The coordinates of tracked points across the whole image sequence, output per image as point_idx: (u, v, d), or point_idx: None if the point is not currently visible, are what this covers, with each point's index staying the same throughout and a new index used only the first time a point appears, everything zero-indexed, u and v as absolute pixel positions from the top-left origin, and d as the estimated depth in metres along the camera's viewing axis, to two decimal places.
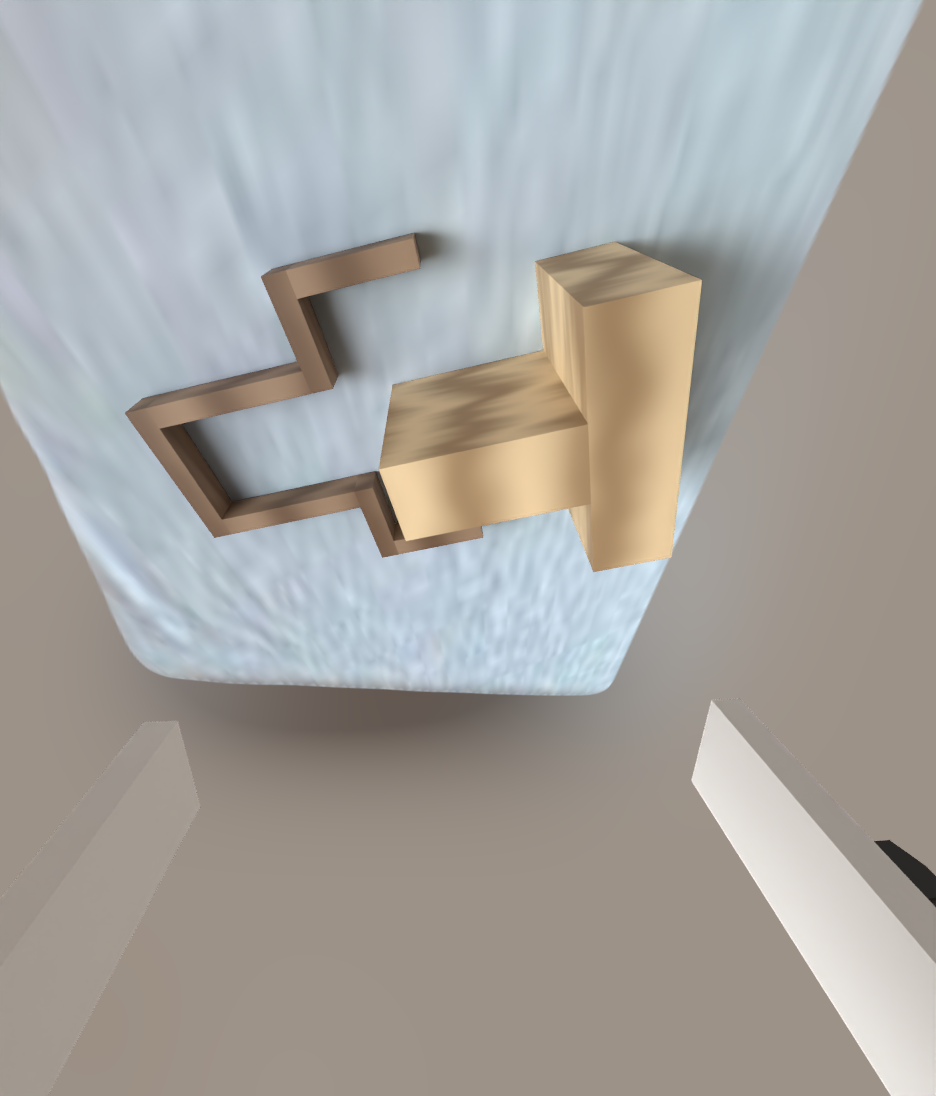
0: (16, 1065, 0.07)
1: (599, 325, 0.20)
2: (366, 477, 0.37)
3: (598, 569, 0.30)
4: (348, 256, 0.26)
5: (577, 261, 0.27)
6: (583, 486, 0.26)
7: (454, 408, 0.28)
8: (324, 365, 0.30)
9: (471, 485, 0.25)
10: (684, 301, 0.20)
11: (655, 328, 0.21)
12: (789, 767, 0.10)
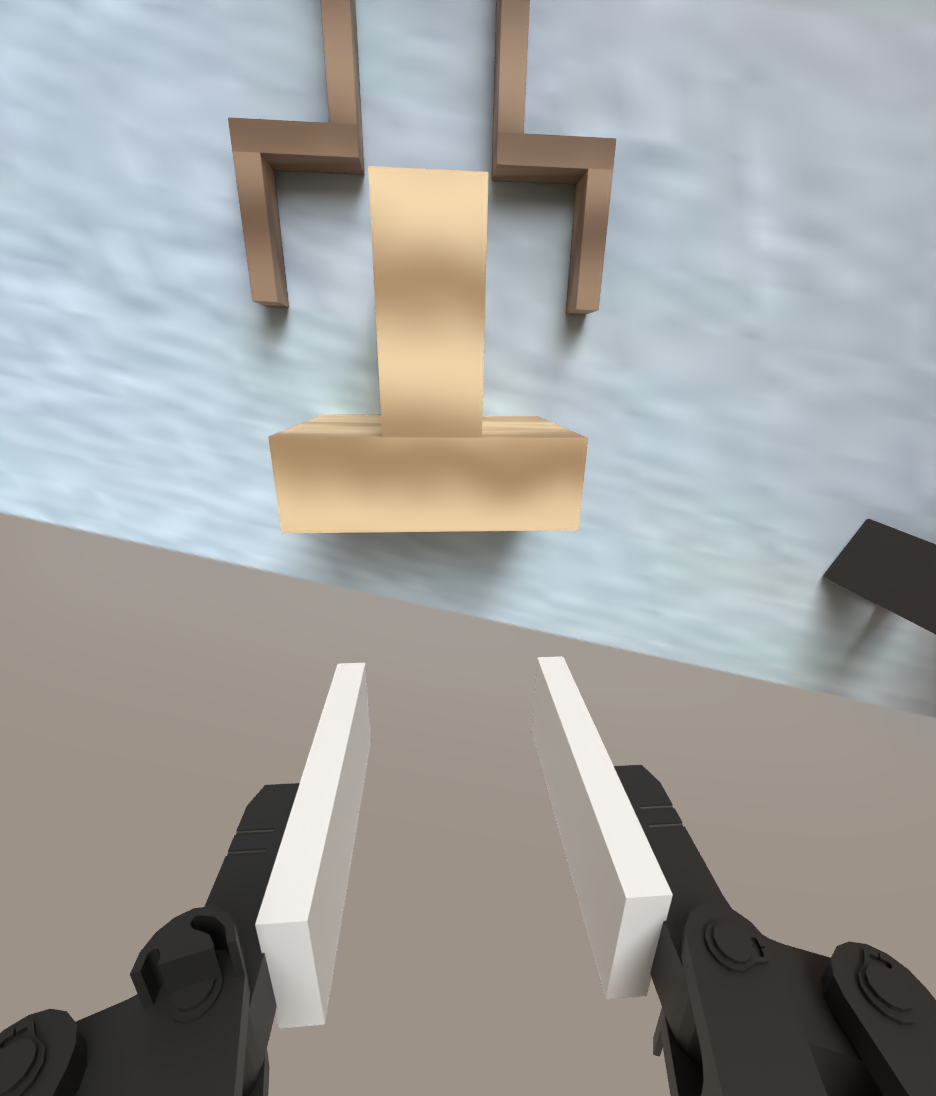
0: (335, 892, 0.09)
1: (569, 451, 0.24)
2: (362, 157, 0.28)
3: (272, 443, 0.23)
4: (603, 242, 0.29)
5: None
6: (408, 429, 0.23)
7: None
8: (522, 166, 0.27)
9: (437, 292, 0.21)
10: (566, 518, 0.25)
11: (553, 497, 0.25)
12: (573, 707, 0.11)
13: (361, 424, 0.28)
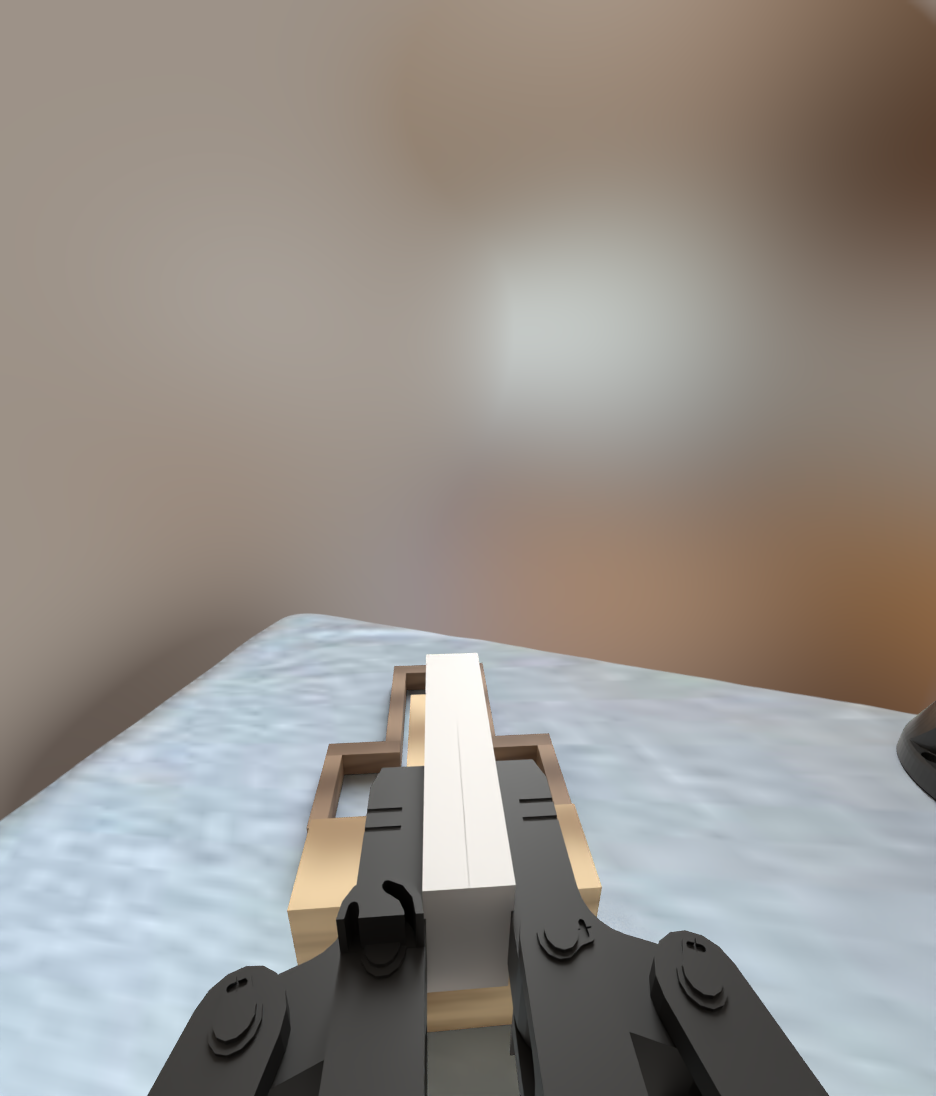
0: None
1: (563, 814, 0.28)
2: None
3: (312, 824, 0.27)
4: (561, 775, 0.43)
5: None
6: None
7: None
8: (497, 748, 0.46)
9: None
10: (584, 875, 0.25)
11: None
12: (473, 703, 0.11)
13: None
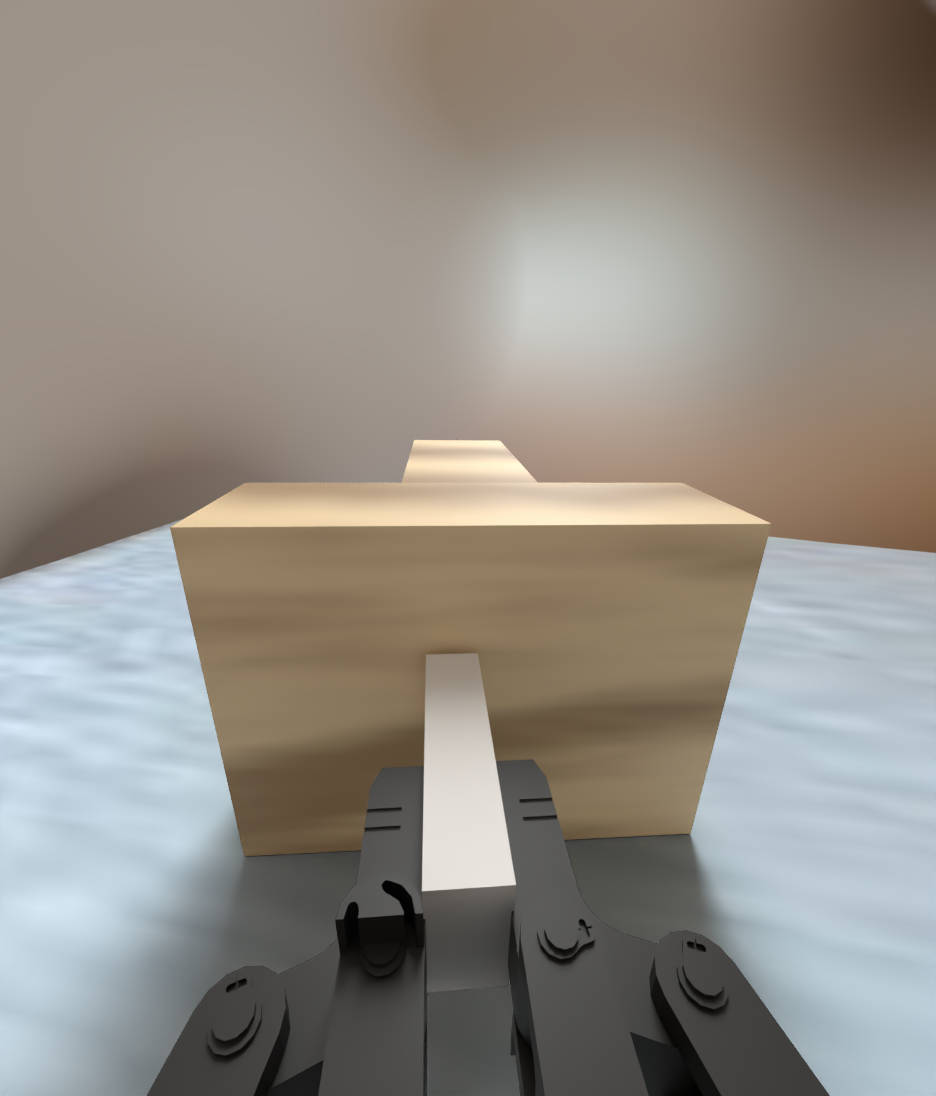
0: None
1: (667, 487, 0.17)
2: None
3: (246, 484, 0.16)
4: None
5: None
6: (437, 480, 0.17)
7: None
8: None
9: (468, 453, 0.23)
10: (732, 517, 0.13)
11: (683, 505, 0.14)
12: (473, 703, 0.11)
13: None
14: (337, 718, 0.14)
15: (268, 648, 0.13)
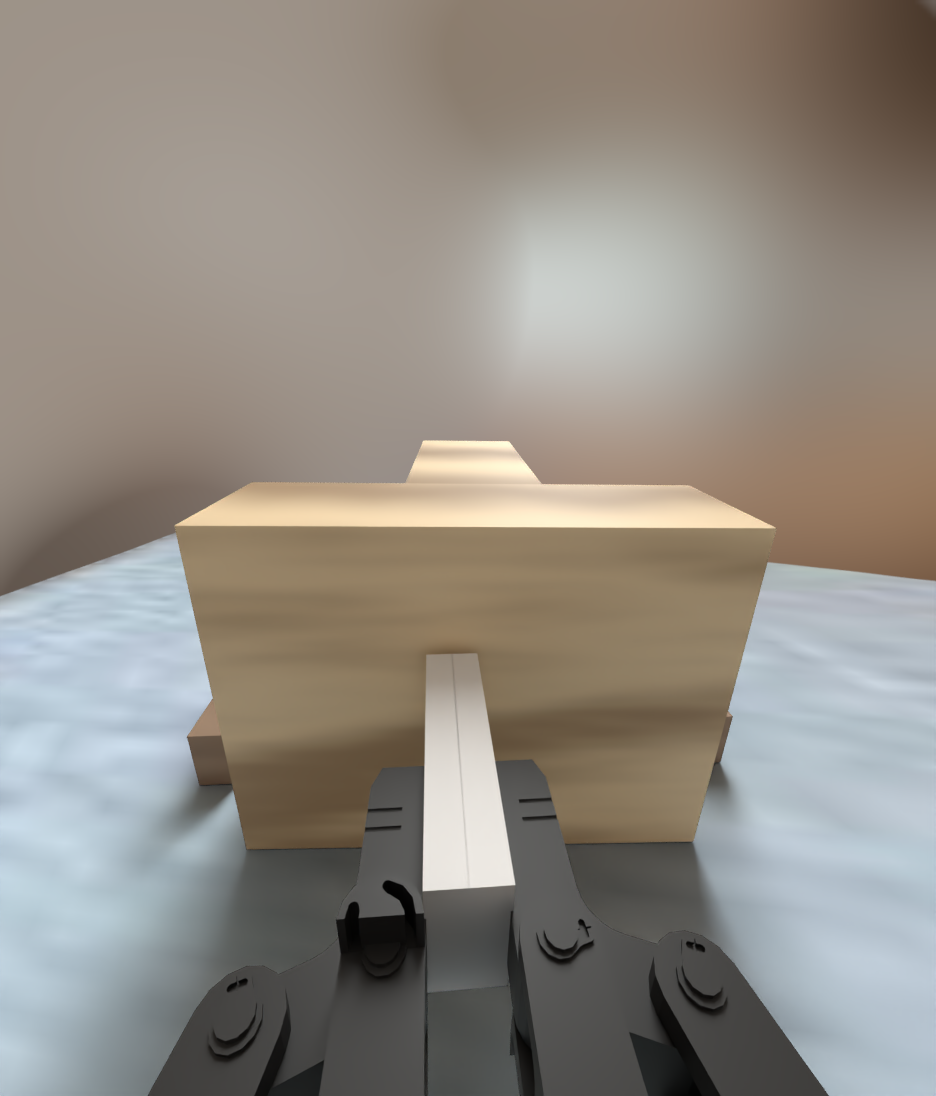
0: None
1: (673, 489, 0.17)
2: None
3: (253, 484, 0.16)
4: None
5: None
6: (441, 481, 0.17)
7: None
8: None
9: (475, 454, 0.23)
10: (736, 521, 0.13)
11: (687, 509, 0.14)
12: (473, 703, 0.11)
13: None
14: (336, 715, 0.14)
15: (269, 645, 0.13)
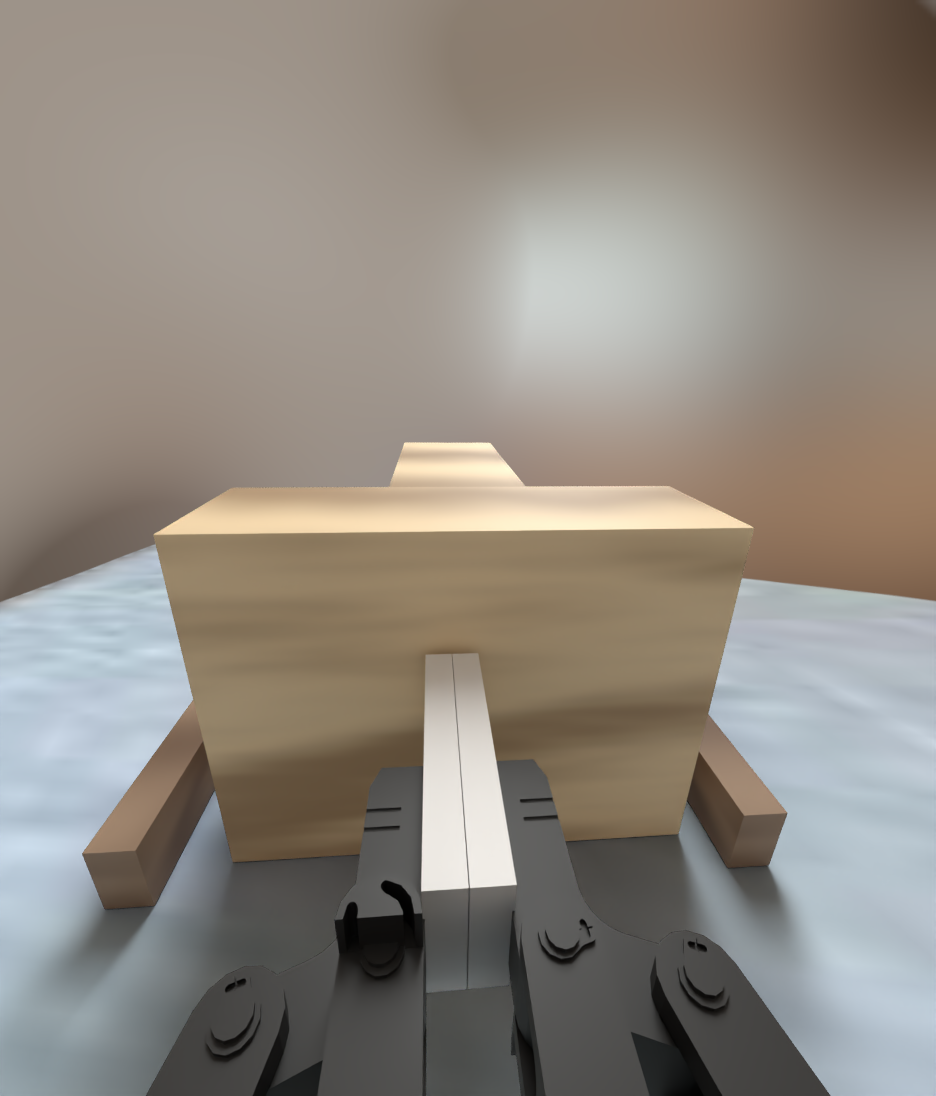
0: None
1: (653, 490, 0.17)
2: None
3: (232, 489, 0.16)
4: (718, 729, 0.19)
5: None
6: (425, 484, 0.17)
7: None
8: None
9: (457, 456, 0.23)
10: (716, 521, 0.14)
11: (668, 509, 0.15)
12: (473, 703, 0.11)
13: None
14: (324, 723, 0.14)
15: (254, 654, 0.13)
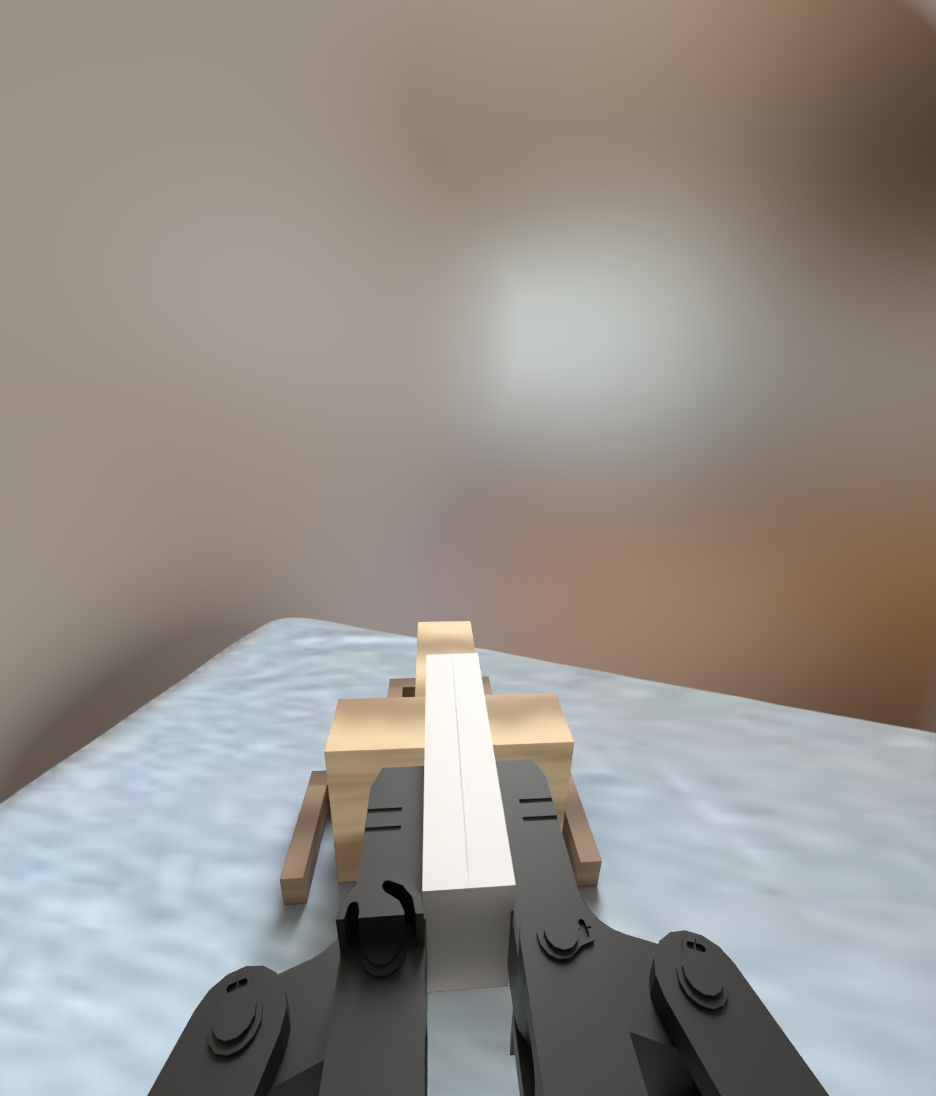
0: None
1: (545, 698, 0.34)
2: None
3: (340, 702, 0.33)
4: (583, 813, 0.36)
5: None
6: None
7: None
8: None
9: (449, 647, 0.40)
10: (560, 735, 0.31)
11: (544, 723, 0.32)
12: (473, 703, 0.11)
13: None
14: None
15: (359, 793, 0.30)
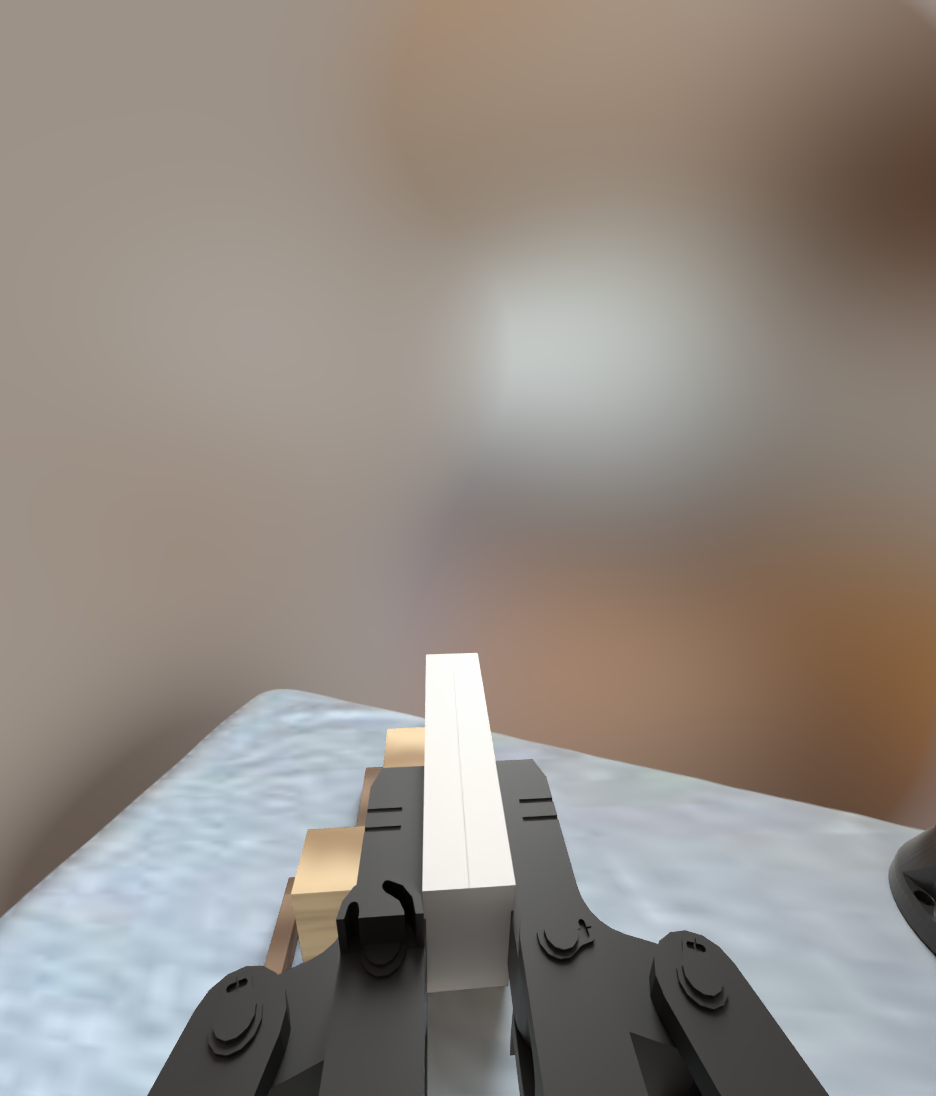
0: None
1: None
2: None
3: (308, 833, 0.37)
4: None
5: None
6: None
7: None
8: None
9: (413, 761, 0.44)
10: None
11: None
12: (473, 703, 0.11)
13: None
14: None
15: (323, 925, 0.34)
